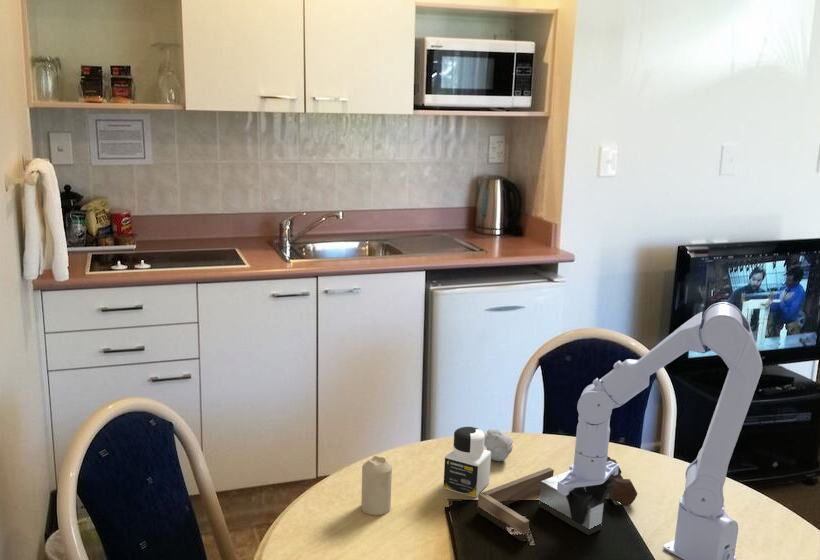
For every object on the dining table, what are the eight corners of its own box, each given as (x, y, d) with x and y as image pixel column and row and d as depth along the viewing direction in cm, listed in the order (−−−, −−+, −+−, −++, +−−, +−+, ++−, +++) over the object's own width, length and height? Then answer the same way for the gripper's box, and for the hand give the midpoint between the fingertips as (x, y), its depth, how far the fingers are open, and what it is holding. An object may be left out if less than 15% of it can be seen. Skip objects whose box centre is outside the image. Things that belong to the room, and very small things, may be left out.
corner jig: (594, 511, 147) (596, 492, 146) (523, 543, 135) (524, 522, 134) (547, 485, 156) (549, 467, 155) (477, 513, 145) (478, 493, 144)
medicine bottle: (442, 488, 153) (445, 433, 150) (457, 474, 159) (460, 420, 156) (475, 498, 150) (479, 441, 147) (489, 483, 156) (493, 428, 153)
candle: (364, 517, 142) (365, 467, 139) (358, 502, 147) (359, 454, 145) (393, 514, 143) (395, 464, 141) (386, 499, 148) (388, 451, 146)
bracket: (621, 520, 144) (624, 493, 143) (588, 536, 138) (590, 508, 137) (572, 493, 153) (574, 468, 152) (539, 507, 147) (541, 481, 146)
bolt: (605, 477, 164) (625, 512, 150) (585, 466, 164) (603, 500, 149) (620, 456, 163) (642, 488, 149) (601, 444, 163) (621, 476, 148)
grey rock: (476, 455, 168) (478, 425, 166) (506, 452, 170) (508, 423, 168) (486, 468, 162) (488, 437, 161) (516, 465, 164) (519, 434, 163)
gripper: (599, 433, 145) (593, 498, 148) (546, 452, 136) (540, 521, 140) (630, 447, 140) (623, 514, 143) (577, 467, 131) (570, 539, 134)
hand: (584, 519), depth 141 cm, fingers closed on bracket, 3 cm apart
